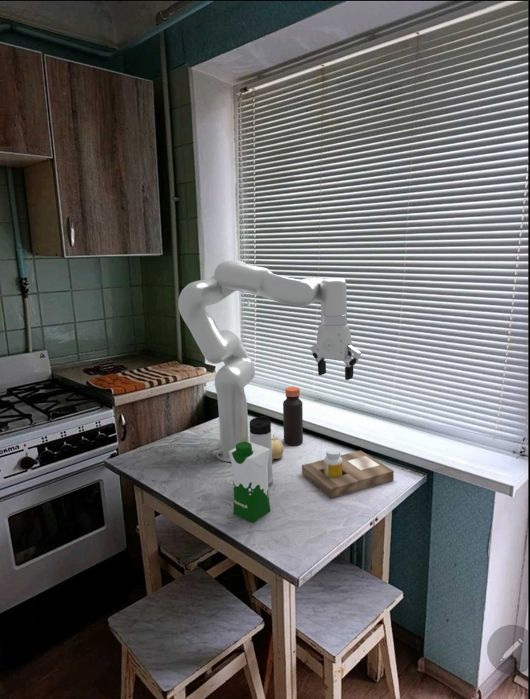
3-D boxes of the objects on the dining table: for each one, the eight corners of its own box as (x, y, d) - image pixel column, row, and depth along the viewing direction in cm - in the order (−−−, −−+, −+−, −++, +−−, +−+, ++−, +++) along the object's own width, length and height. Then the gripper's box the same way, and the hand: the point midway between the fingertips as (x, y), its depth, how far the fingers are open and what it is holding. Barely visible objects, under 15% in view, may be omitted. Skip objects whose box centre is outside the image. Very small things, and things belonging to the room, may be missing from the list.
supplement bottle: (320, 480, 140) (319, 451, 137) (332, 474, 143) (332, 445, 141) (333, 487, 135) (333, 457, 133) (345, 481, 139) (346, 451, 137)
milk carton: (228, 514, 124) (224, 443, 119) (251, 499, 130) (249, 432, 126) (252, 526, 118) (249, 453, 114) (275, 510, 124) (274, 441, 120)
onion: (281, 463, 151) (281, 443, 150) (257, 462, 153) (257, 442, 151) (285, 452, 159) (284, 433, 157) (262, 451, 160) (261, 432, 159)
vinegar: (280, 443, 166) (279, 389, 162) (290, 437, 172) (289, 384, 167) (296, 447, 162) (295, 393, 158) (306, 441, 168) (305, 387, 163)
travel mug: (275, 479, 141) (274, 416, 137) (268, 489, 135) (266, 424, 131) (256, 476, 143) (254, 414, 139) (248, 486, 137) (246, 422, 133)
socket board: (330, 498, 130) (330, 488, 129) (302, 474, 144) (301, 464, 143) (393, 480, 139) (393, 470, 138) (360, 458, 153) (360, 449, 152)
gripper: (302, 320, 140) (305, 375, 144) (352, 324, 129) (353, 384, 133) (317, 317, 146) (319, 370, 149) (366, 320, 134) (367, 377, 138)
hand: (335, 376), depth 141 cm, fingers open, 9 cm apart
